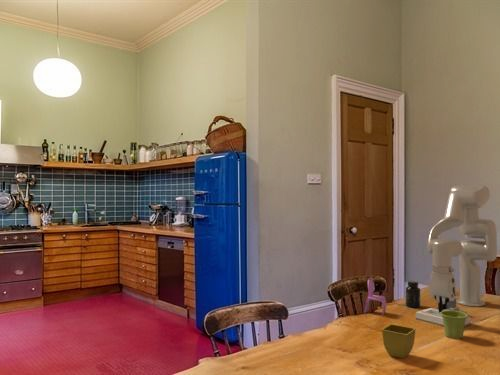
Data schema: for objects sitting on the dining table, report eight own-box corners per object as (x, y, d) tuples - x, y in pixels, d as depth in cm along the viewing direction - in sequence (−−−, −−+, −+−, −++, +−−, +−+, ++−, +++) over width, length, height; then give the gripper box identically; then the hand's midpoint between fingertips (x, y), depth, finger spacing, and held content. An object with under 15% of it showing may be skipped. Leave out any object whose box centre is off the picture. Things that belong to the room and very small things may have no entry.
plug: (445, 311, 201) (445, 294, 201) (456, 314, 197) (456, 296, 197) (441, 313, 198) (441, 295, 198) (451, 315, 194) (451, 297, 194)
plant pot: (470, 341, 160) (470, 317, 160) (443, 339, 162) (443, 316, 162) (463, 333, 169) (463, 311, 170) (438, 331, 171) (437, 310, 171)
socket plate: (431, 314, 196) (430, 306, 196) (470, 324, 181) (470, 315, 181) (415, 318, 189) (415, 310, 189) (455, 329, 174) (455, 320, 174)
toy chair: (382, 316, 193) (382, 282, 193) (363, 313, 198) (363, 280, 198) (387, 312, 200) (386, 279, 200) (368, 309, 205) (368, 277, 205)
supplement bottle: (422, 308, 206) (422, 283, 207) (408, 308, 207) (408, 283, 207) (417, 304, 213) (417, 280, 213) (403, 304, 213) (403, 280, 214)
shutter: (450, 313, 186) (450, 305, 186) (467, 317, 180) (467, 308, 180) (442, 316, 182) (442, 308, 182) (458, 320, 176) (458, 311, 176)
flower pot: (391, 348, 153) (391, 323, 153) (416, 354, 147) (416, 328, 147) (381, 356, 146) (381, 329, 146) (407, 362, 140) (407, 334, 140)
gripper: (463, 271, 182) (464, 314, 181) (430, 266, 194) (431, 307, 193) (454, 273, 177) (454, 317, 177) (421, 268, 189) (421, 310, 189)
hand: (442, 312), depth 185 cm, fingers closed
